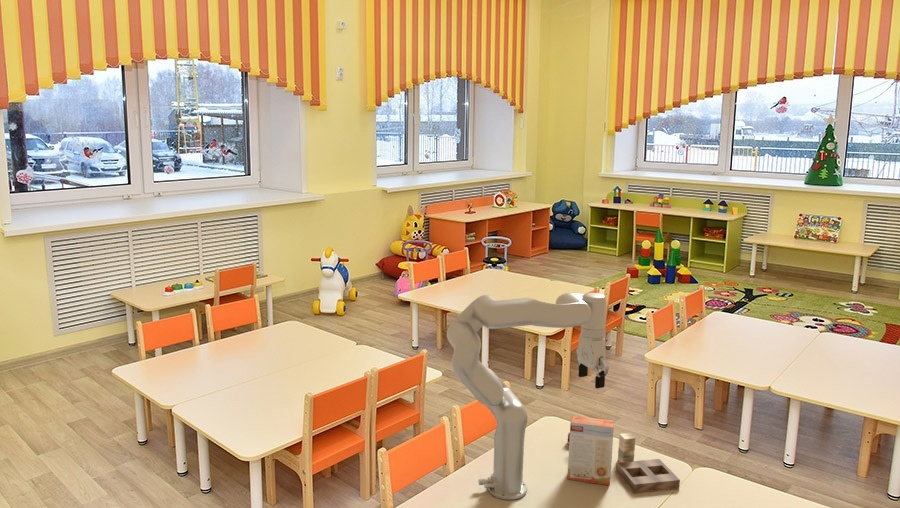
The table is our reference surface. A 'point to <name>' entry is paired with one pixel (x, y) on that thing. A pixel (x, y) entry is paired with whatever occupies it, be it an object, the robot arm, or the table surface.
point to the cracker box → (590, 450)
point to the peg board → (647, 475)
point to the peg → (626, 447)
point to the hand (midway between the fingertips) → (591, 381)
